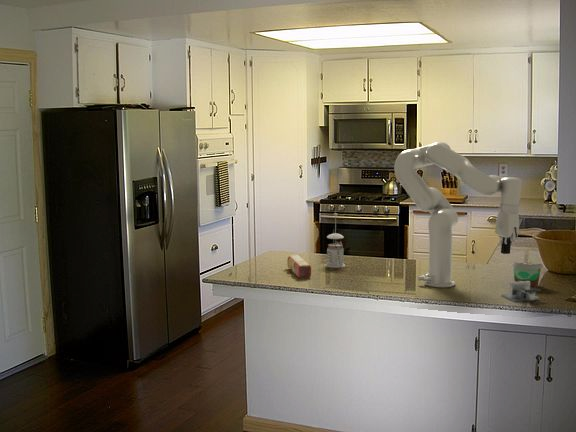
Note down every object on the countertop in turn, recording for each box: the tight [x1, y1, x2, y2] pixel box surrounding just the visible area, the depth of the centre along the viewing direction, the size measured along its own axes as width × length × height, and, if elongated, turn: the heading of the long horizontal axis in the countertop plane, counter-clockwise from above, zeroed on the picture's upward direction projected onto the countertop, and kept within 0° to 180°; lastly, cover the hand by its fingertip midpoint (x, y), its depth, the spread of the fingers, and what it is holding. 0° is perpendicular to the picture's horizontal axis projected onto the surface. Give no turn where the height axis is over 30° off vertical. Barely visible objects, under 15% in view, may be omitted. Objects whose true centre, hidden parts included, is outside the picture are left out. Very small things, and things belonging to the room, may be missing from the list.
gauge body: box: [501, 291, 540, 303], centre depth 278 cm, size 11×9×3 cm
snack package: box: [287, 254, 312, 279], centre depth 320 cm, size 21×7×7 cm, turn 13°
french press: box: [324, 212, 346, 268], centre depth 334 cm, size 10×12×25 cm
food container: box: [511, 260, 544, 289], centre depth 296 cm, size 12×6×10 cm, turn 69°
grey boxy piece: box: [509, 281, 541, 301], centre depth 275 cm, size 10×9×5 cm
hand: (505, 253), depth 286 cm, fingers closed
